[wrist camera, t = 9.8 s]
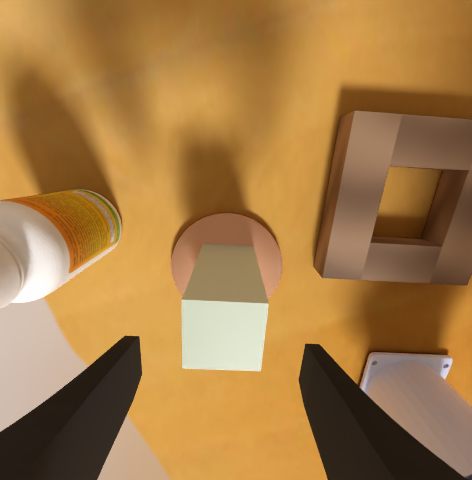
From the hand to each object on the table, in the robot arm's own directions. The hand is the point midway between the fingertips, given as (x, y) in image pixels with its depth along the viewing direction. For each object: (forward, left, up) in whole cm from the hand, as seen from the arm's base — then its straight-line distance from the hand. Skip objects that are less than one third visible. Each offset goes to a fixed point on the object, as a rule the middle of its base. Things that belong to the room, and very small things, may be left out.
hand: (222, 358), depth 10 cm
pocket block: (+6, -13, -10) cm, 17 cm away
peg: (0, 0, -9) cm, 9 cm away
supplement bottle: (+3, +11, -10) cm, 15 cm away
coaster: (0, 0, -10) cm, 10 cm away
